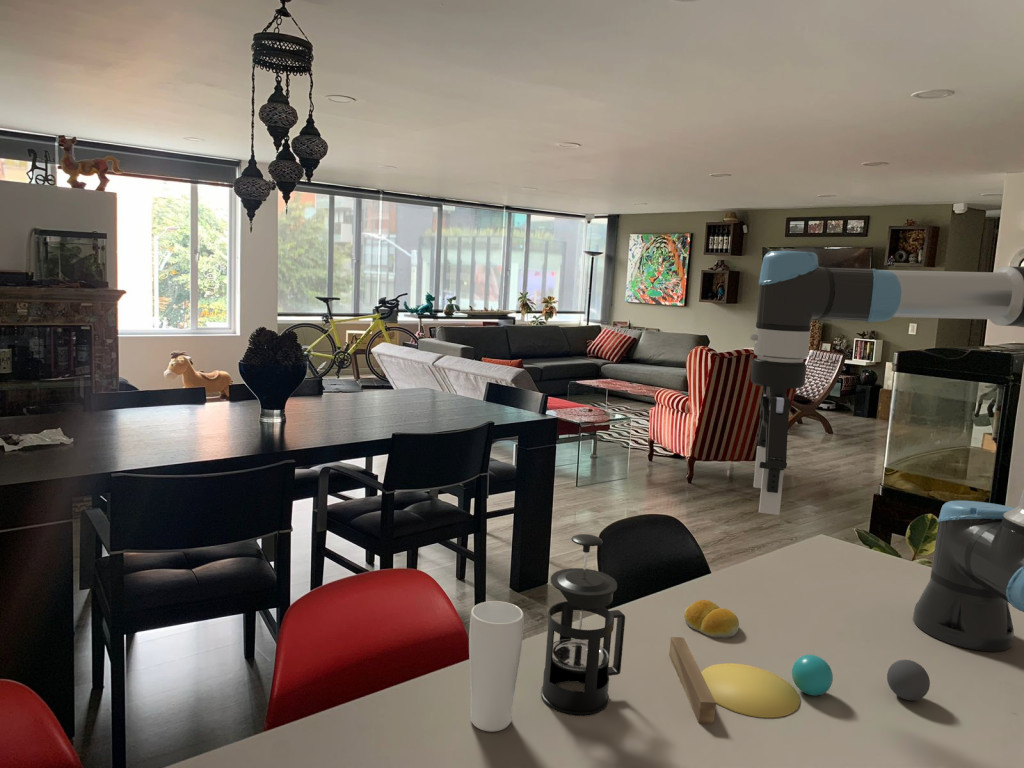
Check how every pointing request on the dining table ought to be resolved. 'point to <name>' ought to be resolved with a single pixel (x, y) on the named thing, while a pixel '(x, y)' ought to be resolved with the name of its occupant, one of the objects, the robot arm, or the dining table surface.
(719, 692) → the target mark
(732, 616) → the bread roll
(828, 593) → the dining table surface
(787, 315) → the robot arm
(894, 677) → the ball
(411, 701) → the dining table surface
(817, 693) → the ball
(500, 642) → the drinking glass
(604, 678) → the french press
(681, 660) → the wall
